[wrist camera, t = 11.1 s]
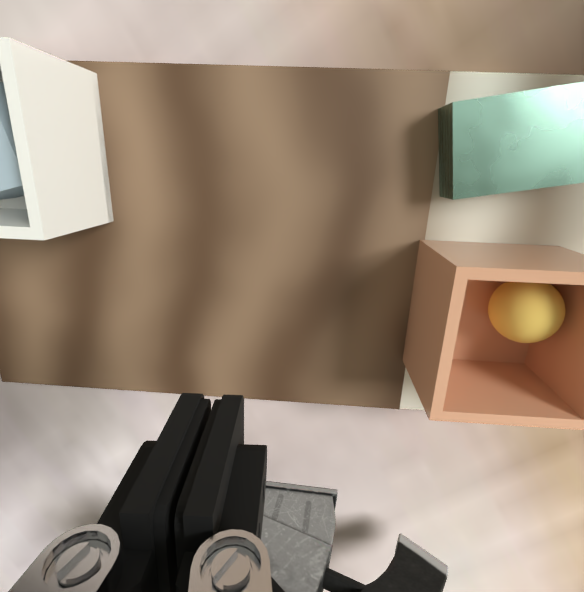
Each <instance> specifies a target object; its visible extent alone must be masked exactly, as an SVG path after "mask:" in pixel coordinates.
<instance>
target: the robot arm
mask: <svg viewBox="0 0 584 592" xmlns="http://www.w3.org/2000/svg"><path fill="white" fill-rule="evenodd" d="M266 469H267V445H244V397H243V395H225V394H224V395H223V396H222V399H221V400H218V399H216V400H215V401H214V404H213V407H212V409H211V401H210V399H204V395H203V394H200V393H182V394H181V396H180V398H179V400H178V402H177V404H176V405H175V407H174V409H173V411H172V413H171V415H170V417H169V419H168V421H167V423H166V425H165V426H164V428H163V430H162V432H161V434H160V436H159V438H158V440H157V441H146V442H144V443H143V445H142V446H141V447H140V449H139V451H138V453H137V454H136V456H135V458H134V460H133V461H132V463H131V465H130V467H129V468H128V470H127V472H126V474H125V475H124V477H123V479H122V481H121V482H120V484H119V486H118V488H117V489H116V491H115V493H114V495H113V496H112V498H111V500H110V502H109V503H108V505H107V507H106V509H105V510H104V512H103V514H102V516H101V517H100V519H99V521H98V523H97V524H88V525H83V526H79V527H76V528H74V529H72V530H69V531H67V532H65V533H64V534H62V535H61V536H59V537H58V538H56V539H55V540H53V541H52V542H51V543H50V544H49V545H48V546H47V547H46V548H45V549H44V550H43V551H42V552H41V553H40V555H39V556H38V557H37V558H36V559H35V560H34V562H33V563H32V564H31V565H30V566H29V568H28V569H27V570H26V571H25V572H24V574H23V575H22V576H21V577H20V578H19V580H18V581H17V582H16V583H15V584H14V585H13V587H12V588H11V589H10V590H9V591H8V592H285V591H284V590H283V589H282V588H281V587H280V586H279V585H278V583H277V582H276V581H275V580H274V579H273V578H272V577H271V571H270V559H269V556H268V552H267V548H266V547H265V545H264V544H263V542H262V541H261V534H262V523H263V513H264V503H265V490H266Z"/></svg>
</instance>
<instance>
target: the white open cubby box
mask: <svg viewBox="0 0 584 592" xmlns="http://www.w3.org/2000/svg"><path fill="white" fill-rule="evenodd" d="M0 82H4V88H5V93H6V98H7V104H8V109H9V115H10V120H11V125H12V131H13V136H14V142H15V147H16V153H17V158H18V163H19V169H20V174H21V180H22V185H23V190H24V196H20V197H17V198H10V199H1V200H0V238H6V239H26V240H48V239H52V238H55V237H59V236H62V235H66V234H70V233H73V232H77V231H80V230H84V229H88V228H91V227H95V226H99V225H102V224H106V223H109V222H113V212H112V203H111V194H110V186H109V177H108V168H107V159H106V150H105V142H104V133H103V124H102V115H101V106H100V98H99V89H98V80H97V73H94V72H92V71H90V70H87V69H85V68H82V67H80V66H77V65H75V64H73V63H70V62H68V61H65V60H63V59H60V58H58V57H56V56H53V55H51V54H48V53H46V52H43V51H41V50H39V49H36V48H34V47H31V46H29V45H26V44H24V43H22V42H19V41H17V40H14V39H12V38H9V37H0Z"/></svg>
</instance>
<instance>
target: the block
mask: <svg viewBox="0 0 584 592" xmlns="http://www.w3.org/2000/svg"><path fill="white" fill-rule="evenodd" d="M20 196H24V190H23V185H22V180H21V174H20V169H19V163H18V158H17V153H16V147H15V142H14V136H13V131H12V125H11V120H10V115H9V109H8V104H7V98H6V93H5V88H4V82H0V200H1V199H10V198H17V197H20Z"/></svg>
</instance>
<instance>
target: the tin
mask: <svg viewBox="0 0 584 592" xmlns="http://www.w3.org/2000/svg"><path fill="white" fill-rule="evenodd" d="M438 138H439V196H440V197H444V198H448V199H452V200H456V199H464V198H471V197H479V196H486V195H494V194H501V193H509V192H517V191H524V190H532V189H539V188H547V187H554V186H562V185H570V184H577V183H584V82H578V83H571V84H565V85H559V86H552V87H546V88H539V89H533V90H527V91H520V92H514V93H507V94H501V95H495V96H488V97H482V98H475V99H469V100H463V101H456V102H452V103H449V104H447V105H445V106H443V107H441V108H438Z"/></svg>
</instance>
